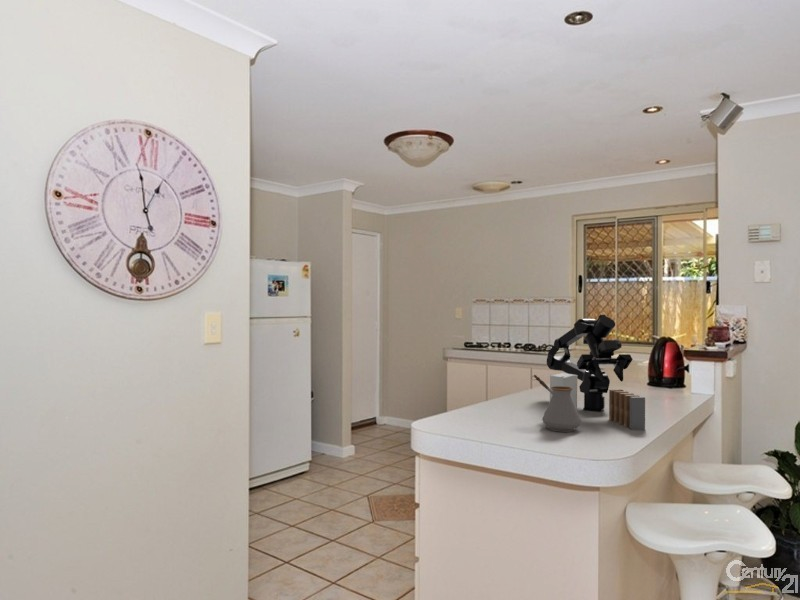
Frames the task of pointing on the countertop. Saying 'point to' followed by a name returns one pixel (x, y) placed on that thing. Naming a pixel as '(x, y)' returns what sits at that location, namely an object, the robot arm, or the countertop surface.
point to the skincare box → (565, 384)
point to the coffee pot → (560, 409)
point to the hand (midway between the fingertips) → (613, 380)
